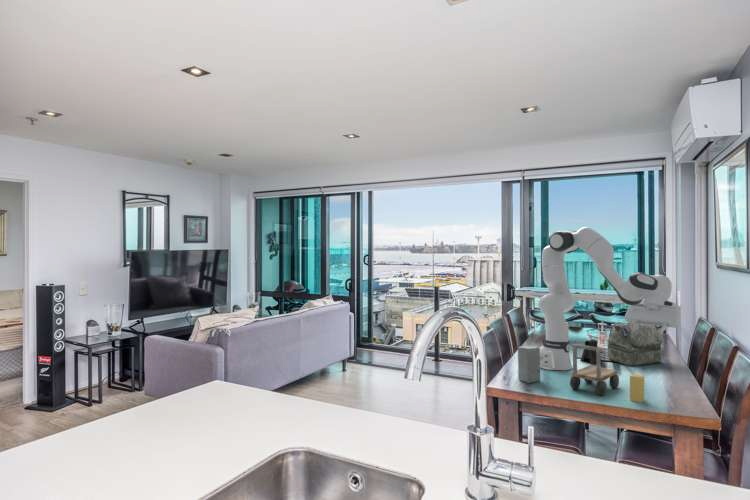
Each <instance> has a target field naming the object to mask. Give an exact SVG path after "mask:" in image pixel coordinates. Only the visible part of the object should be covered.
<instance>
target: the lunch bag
mask: <svg viewBox="0 0 750 500" xmlns="http://www.w3.org/2000/svg"><path fill="white" fill-rule="evenodd" d="M636 326H638V328H639V329H638V331H634V330H633V327H634V325H633V323H628V322H624V323H623V322H616V323H614V324H613V325H612V326H611V327H610V331H609V334H608V339H607V358H608V359H609V360H611V361H613V362H616V363H619V364H620V365H626V366H629V367H634V366H643V365H649V364H650V365H651V364H658V363H661V362H662V344H663V339H662V338H663V337H662V334H658V327H659V326H655V325H645V324H637V325H636Z"/></svg>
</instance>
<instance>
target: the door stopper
mask: <svg viewBox="0 0 750 500" xmlns="http://www.w3.org/2000/svg"><path fill="white" fill-rule="evenodd" d="M584 345H586V346H592V347H598V341H597V340H596V339H590V340H586V341H585V342H584ZM580 357H581V358H580V362H581V361H582V363H585V362H586V364H589V363H590V364H589V365H592V364H593V365H592V366H597V365H596V364H597V361H596V351H593V350H587V349H583V351H582V355H581V356H580ZM601 364H603V361H602V359H601Z"/></svg>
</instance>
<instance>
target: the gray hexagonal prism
mask: <svg viewBox="0 0 750 500" xmlns="http://www.w3.org/2000/svg"><path fill="white" fill-rule="evenodd" d="M517 359H518V360H517V363H518V365H517V366H518V367H517V368H518V370H517V371H518V380H519V381H522V382H524V383H528V384H531V382H532V383H535V382H541V368H540V347H538V346H532V345H523V346H517Z"/></svg>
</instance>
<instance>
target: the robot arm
mask: <svg viewBox="0 0 750 500" xmlns="http://www.w3.org/2000/svg"><path fill="white" fill-rule="evenodd" d="M579 249H581V250H582V251H583V252H584V253H585V254H586V255H587V256H588V257H589V258H590V259H591V260H592V261H593V263H594V265H595V267H596V269H597V270H598V272H599V273H600V274H601V276H602V277H603V278H604V279H605V280H606V281H607V283H608V284H609V285H610V286H611V287H612V289H613V290H614V291H615V292H616V294H617V296H618V299H619V300H620V301H621V302H622V303H624V304H626V305H628V307H627V309H626V310H627V311H626V313H625V314H624V320H625V321H626V323H633V325H634V327H633V330H634V331H638V329H639V328H638V326H636V325H637V324H645V325H655V326H657V327H660V328H658V334H660V335H663V334H664V331H666V330H667V329H668V328H677V327H679V326H680V316H679V314H680V310H679V308H678V305H677V304H676V302H673V301H669V299H670V298H671V294H672V288H673V284H672V281H671V279H670V277H668V276H666V275H663V274H655V275H651V274H647V273H644V272H641V271H640V272H639V271H637V272H633V273H631V274H630V275H629V277H628V278H627V279H626V280H625V279H624V278H623V277H622V276H621V274H619V273H618V272H617V270H616V268H615V265H614V255H615V254H614V253H615V250H614V247H613V245H612V243H610V241H609V240H608V239H606V238H605V237H604V236H603V235H601V234H600V233H599V232H598V231H596V230H594V229H592V227H589V226H583V227H581V228H579V229H578V230H577V231H575V230H570V229H565V230H557V231H554V232H553V233H551V234H550V235H549V236H548V245H546V246H545V247H544V248H542V252H541V269H542V277H543V278H542V280H543V282H544V284H545V285H546V287H547V289H548V293H546V294H545V295H543V296H541V297H540V298H539V300H538V304H537V305H538V309H539V310H540V312H541V313H542V315H543V318H544V322H545V323H544V324H545V339H542V340H541V342H540V343H541V344H542V345H541V346H540V347H539V348H540V369H544V370H546V371H547V370H548V371H569V370H573V364H572V362H571V361H572V360H571V355H570V351H571V346H570V343H571V342H570V340H569V339H570V333H569V332H570V325H569V324H568V323H567V321H566V318H565V313H568V312H569V311H571V310H572V309H573V308H574V307H575V305H576V300H575V299H576V298H575V297H574V295H573V294H572V293H571V290H570V287H569V284H568V282H567V273H566V266H565V255H566V254H567V255H568V254H571V253H572V252H575V251H577V250H579ZM643 299H644V301H643ZM642 301H643V304H641V303H642Z"/></svg>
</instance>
